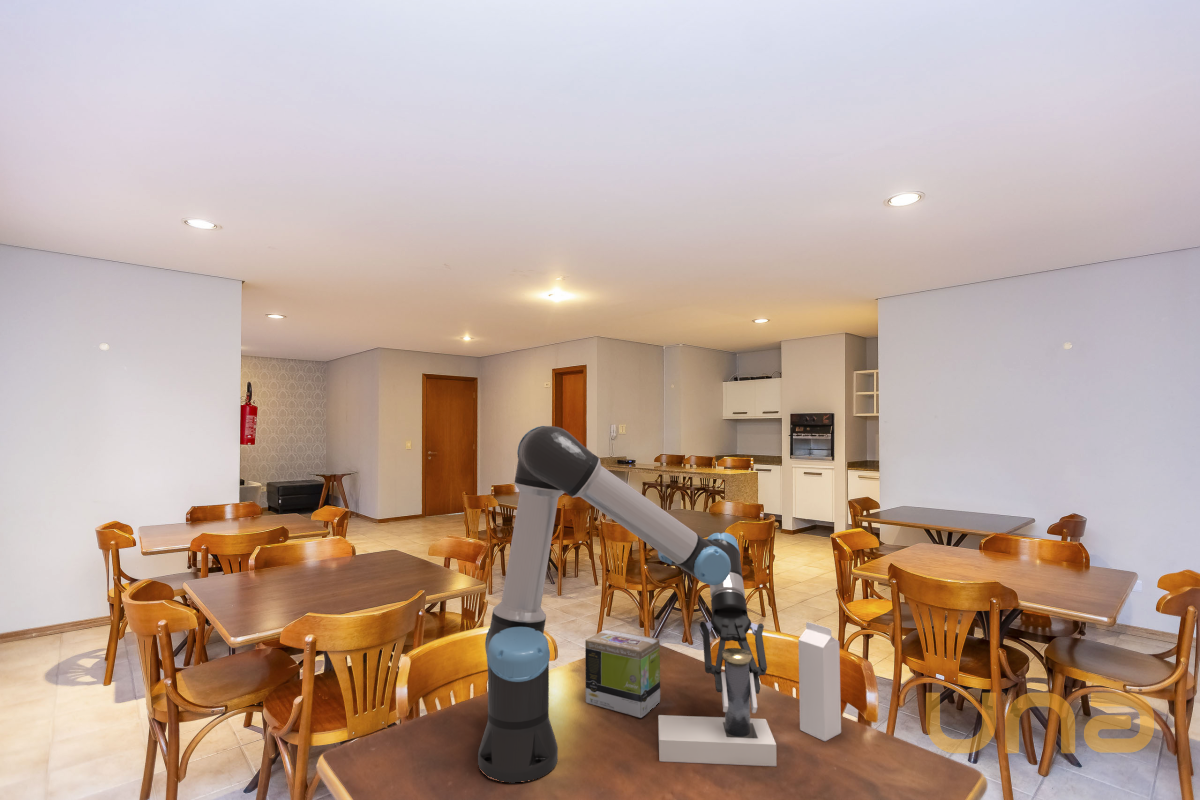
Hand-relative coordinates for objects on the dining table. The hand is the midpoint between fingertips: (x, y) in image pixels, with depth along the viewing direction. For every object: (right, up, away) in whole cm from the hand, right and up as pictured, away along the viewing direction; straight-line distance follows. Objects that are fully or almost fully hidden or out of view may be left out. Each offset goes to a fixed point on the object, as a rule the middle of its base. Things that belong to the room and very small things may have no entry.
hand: (740, 709), depth 115 cm
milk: (+19, -10, +11) cm, 25 cm away
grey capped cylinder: (0, -6, +3) cm, 7 cm away
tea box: (-22, -11, +24) cm, 34 cm away
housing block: (-4, -10, +4) cm, 11 cm away
